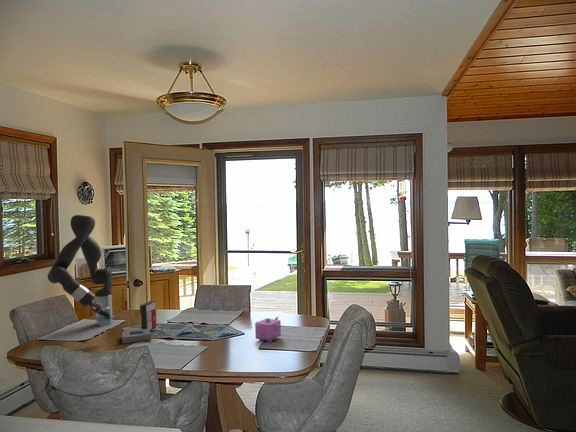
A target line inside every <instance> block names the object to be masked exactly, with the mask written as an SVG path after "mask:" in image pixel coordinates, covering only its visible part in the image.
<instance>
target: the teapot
mask: <svg viewBox="0 0 576 432" xmlns="http://www.w3.org/2000/svg"><path fill="white" fill-rule="evenodd" d="M279 317H280V316H277V317H275V318H274V319H273V318H269V317H268V318H267V317H266V318H264V319H262V320H260V321H256V322H255V324H254V327H255V334H254V335H255V340H259V341H260V342H263V341H267V343H272V342H273V340H275V341H276V340H278V337H279V338H280V337H281V336H282V331H281V329H282V326H281V325H282V324H281V323H282V322H281V319H279Z"/></svg>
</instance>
